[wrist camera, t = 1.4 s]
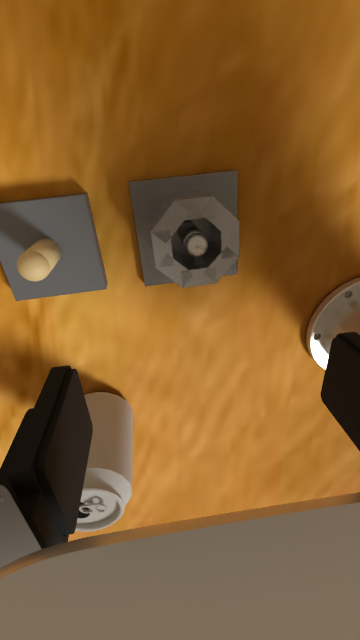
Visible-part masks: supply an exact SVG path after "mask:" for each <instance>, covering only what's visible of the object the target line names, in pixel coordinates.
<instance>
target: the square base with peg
mask: <svg viewBox="0 0 360 640" xmlns="http://www.w3.org/2000/svg"><path fill="white" fill-rule="evenodd" d="M0 262H1V264H2V267H3V269H4V272H5V274H6V277H7V279H8V282H9V284H10V287H11V290H12V292H13V295H14V297H15V300H16V301H20V300H27V299H35V298H42V297H50V296H57V295H65V294H73V293H80V292H88V291H95V290H103V289H106V287H107V279H106V274H105V270H104V265H103V261H102V256H101V252H100V248H99V243H98V239H97V234H96V230H95V225H94V221H93V216H92V212H91V207H90V203H89V198H88V194H87V193H81V194H72V195H63V196H54V197H45V198H36V199H27V200H18V201H9V202H0Z"/></svg>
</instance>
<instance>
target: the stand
mask: <svg viewBox="0 0 360 640" xmlns="http://www.w3.org/2000/svg"><path fill="white" fill-rule="evenodd" d="M128 183H129V189H130V196H131V202H132V208H133V214H134V221H135V227H136V233H137V240H138V246H139V252H140V258H141V265H142V271H143V277H144V284H145V286H150V285H158V284H165V283H173V282H174V281H173V280H172V279H170V278H169V277H168V276H166V275H165V274H163V273H162V272H161V271H159V270H158V269H157V268H156V266H155V261H154V255H153V248H152V241H151V233H150V226H149V220H150V219H151V217H152V216H153V215H154V213H155V212H156V210H157V209H158V208H159V206H160V205H161V204H162V202H163V201H164V200H165V198H166V197H167V196H168V194H173V193H182V192H191V191H200V190H202V191H204V192H206V193H208V194H210V195H212V196H213V197H214V198H215V199H216V200H217V201H219V202H220V203H221V204H222V205H223V206H224V207H225V208H226V209H227V210H228V211H229V212H230V213H231V214H232V215H233V216H234V217H236V218H237V219H238V170H231V171H221V172H212V173H203V174H194V175H185V176H175V177H166V178H157V179H148V180H139V181H130V182H128ZM209 239H210V237H209V220H207V219H206V218H199V219H191V220H184V221H183V223H182V224H181V225H180V227H179V228H178V229H177V230H176V232H175V233H174V234H173V235H172V237H171V244H172V248H174V249H175V250H176V251H177V252H179V253H180V254H190V255H191V256H194V257H199V256H202V255H203V254H205V253H206V251H207V249H208V240H209ZM233 274H238V259H237V260H236V261H235V262H234V264H233V265H232V266H231V267H230V268H229V269H228V270H227V271H226V273H225V274H224V275H223V276H226V275H233Z"/></svg>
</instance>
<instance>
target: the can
mask: <svg viewBox="0 0 360 640" xmlns="http://www.w3.org/2000/svg"><path fill="white" fill-rule="evenodd" d="M84 397H85V400H86V404H87V407H88V411H89V414H90V417H91V421H92V425H93V434H92V440H91V446H90V451H89V457H88V462H87V468H86V474H85V479H84V485H83V490H82V496H81V502H80V507H79V513H78V518H77V524H76V529H75V531H81V532H82V531H95V530H99V529H103V528H106V527H108V526H110V525H112V524H114V523H115V522H116V521H118V520H119V519H120V517H121V516H122V515H123V513H124V507H125V505H126V504H127V502H128V501H129V499H130V498H131V493H132V453H133V412H132V409H131V406H130V405H129V404H128V402H127V401H126V400H125V399H123V398H121V397H120V396H118V395H115V394H111V393H108V392H95V393H90V394H86V395H84Z"/></svg>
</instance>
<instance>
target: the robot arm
mask: <svg viewBox="0 0 360 640" xmlns="http://www.w3.org/2000/svg"><path fill="white" fill-rule="evenodd" d="M306 345H307V348H308V352H309V354H310V355H311V357H312V358H313V360H314V361H315V362H316V363H317V364H318V365H319V366H320V367H322V368H323V369H325V370H326V371H325V375H324V380H323V385H322V390H321V398H322V401H323V403H324V404H325V405H326V407H327V408H328V409H329V411H330V412H331V413H332V415H333V416H334V417H335V419H336V420H337V421H338V423H339V424H340V425H341V427H342V428H343V429H344V431H345V432H346V433H347V435H348V436H349V437H350V439H351V440H352V441H353V443H354V444H355V445H356V447H357V448H358V449H359V451H360V277H358V278H355V279H353V280H351V281H349V282H347V283H345V284H343V285H341V286H340V287H338V288H337V289H335V290H334V291H333V292H332V293H331V294H329V295H328V296H327V297H326V298H325V299H324V300H323V301H322V303H321V304H320V305H319V306H318V308H317V309H316V311H315V312H314V314H313V316H312V317H311V320H310V322H309V325H308V328H307V334H306ZM92 434H93V425H92V421H91V417H90V414H89V411H88V407H87V404H86V400H85V397H84V393H83V390H82V386H81V383H80V379H79V376H78V372H77V370H76V369H71V367H70V366H61V367H53V368H52V369H51V370H50V372H49V375H48V377H47V379H46V382H45V384H44V386H43V389H42V391H41V393H40V396H39V398H38V400H37V402H36V405H35V407H34V408H33V409H29V410H28V411H27V412H26V414H25V416H24V418H23V420H22V422H21V425H20V427H19V429H18V431H17V433H16V436H15V438H14V440H13V442H12V444H11V446H10V449H9V451H8V453H7V455H6V457H5V460H4V462H3V464H2V466H1V468H0V640H360V492H359V493H353V494H346V495H339V496H333V497H326V498H320V499H314V500H307V501H301V502H295V503H288V504H282V505H276V506H269V507H263V508H257V509H251V510H244V511H238V512H232V513H226V514H219V515H213V516H207V517H201V518H195V519H189V520H183V521H177V522H171V523H165V524H159V525H152V526H146V527H141V528H135V529H130V530H124V531H119V532H113V533H108V534H102V535H97V536H91V537H86V538H82V539H78V540H74V541H70V542H68V537H69V534H73V533H74V532H75V529H76V524H77V518H78V513H79V507H80V502H81V496H82V490H83V485H84V479H85V474H86V468H87V462H88V457H89V451H90V446H91V440H92Z"/></svg>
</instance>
